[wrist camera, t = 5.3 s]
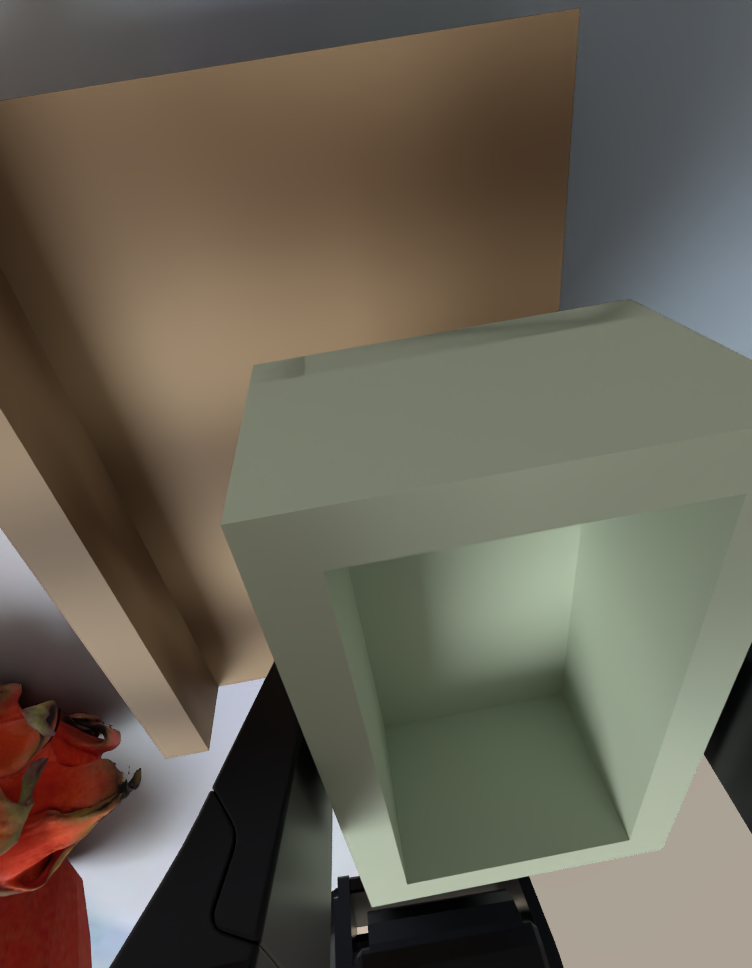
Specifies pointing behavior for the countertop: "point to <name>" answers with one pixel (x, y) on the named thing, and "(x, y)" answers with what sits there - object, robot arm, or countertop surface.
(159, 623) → the walnut shelf
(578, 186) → the countertop surface
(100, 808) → the dragon fruit
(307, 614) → the sage tray
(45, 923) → the apple
